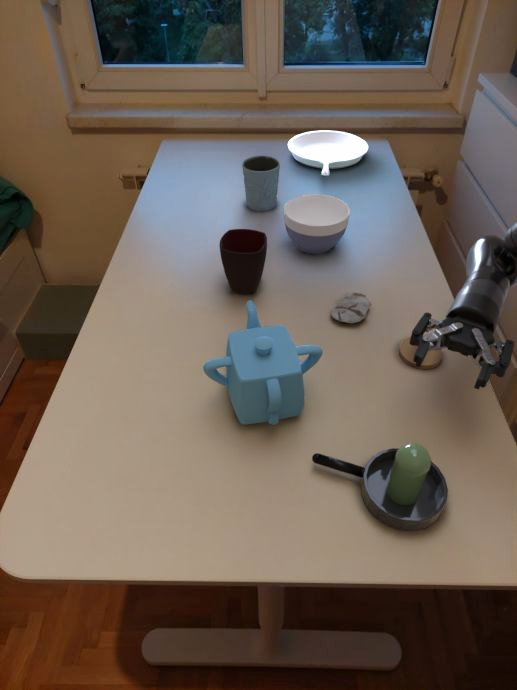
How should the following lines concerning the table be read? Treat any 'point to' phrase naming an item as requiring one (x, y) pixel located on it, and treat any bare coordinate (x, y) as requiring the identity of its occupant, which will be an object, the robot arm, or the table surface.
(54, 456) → the table surface
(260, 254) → the cup
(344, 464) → the pan handle
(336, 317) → the stone
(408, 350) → the disc
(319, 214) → the bowl
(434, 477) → the steel pan
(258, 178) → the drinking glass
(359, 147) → the pan
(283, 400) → the teapot
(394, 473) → the green capsule
